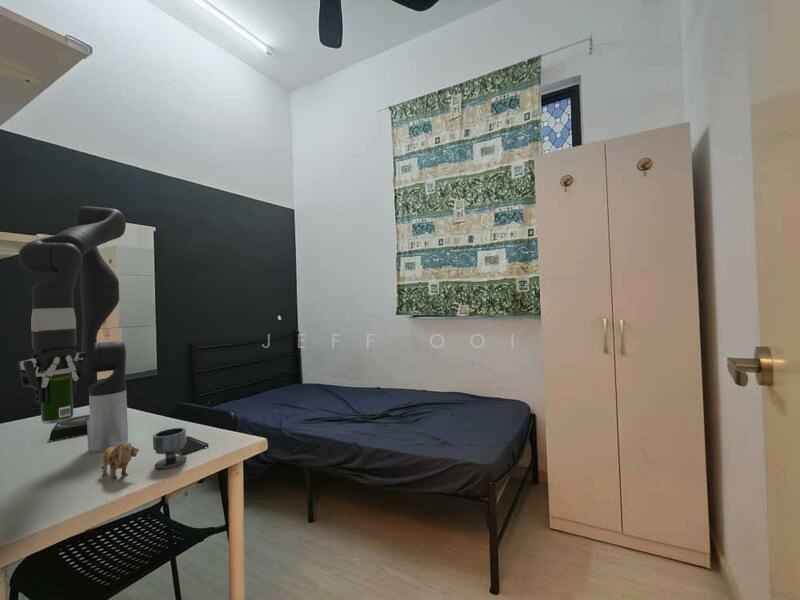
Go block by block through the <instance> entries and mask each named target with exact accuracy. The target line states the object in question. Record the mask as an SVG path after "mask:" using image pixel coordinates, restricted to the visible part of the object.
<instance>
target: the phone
mask: <svg viewBox="0 0 800 600" xmlns="http://www.w3.org/2000/svg"><path fill="white" fill-rule="evenodd" d="M205 447H207V448H209V443H208V442H205V441H202V440H200V439H196V438H194V437H191V436H189V435H188V436H187V435H186V443H185V447H184V448H182V449H181V450H178V451H176V454H177V453H178V455H179V454H180V455H179V456H186V455H185V454H187V455H189V454H188V453H190V454H192V452H193V453H195V452H194V451H197V450H199V451H201V450H200V449H202V450H204V449H206V448H205ZM203 448H204V449H203Z"/></svg>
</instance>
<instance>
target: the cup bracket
mask: <svg viewBox="0 0 800 600" xmlns="http://www.w3.org/2000/svg"><path fill="white" fill-rule="evenodd" d="M186 436H187V429H186V428H184V427H174V428H168V429H167V428H166V429H164V430H160V431H158V432H155V433H154V434H153V436H152V444H153V445H152V447H153V450H154V451H155V454H157V455H164V456H165V457H164V458H162V459H161V460H158V461H157V462H156V463H155V464H154V469H155V470H157V471H159V470H160V471H162V470H163V471H164V470H169V469H174V468H177V467H180V466H181V465H183V463H184V464H185V463H186V462H187V461H186V460H187V455H177V453H176V451H178V450H181V449H182V448H184V447H185V443H186Z"/></svg>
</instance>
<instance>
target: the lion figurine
mask: <svg viewBox="0 0 800 600" xmlns="http://www.w3.org/2000/svg"><path fill="white" fill-rule="evenodd" d="M139 451H140V449H139V448H136V447H134V446H133V445H132V444H131V442H129V441H128V442H127V443H123V444H121V445H119V446H117V447H109V448H108V449H106V450H105V451H103V452H104V453H103V457H102V462H103V466H102V467H101V469H102V473H101V477H105V476H107V475H108V466H109V472H110V475H111V479H110V482H111V483H114V482H116V480H118V476H117V473H116V472H117V469H121V473H120V475H121V477H122V476H123V478H126V477H128V476H129V473H128V472H126V471H127V467H128V464H129V463H130V462H131V461H132V458H134V457H135V458H136V457H137V454H138V453H139ZM127 475H128V476H127ZM125 476H126V477H125Z"/></svg>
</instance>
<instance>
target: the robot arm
mask: <svg viewBox="0 0 800 600" xmlns="http://www.w3.org/2000/svg"><path fill="white" fill-rule="evenodd" d="M75 220H76V221H75V222H76V226H75V225H74V226H71V227H69V228H66V229H65V230H62V231H60V232H59V233H57V234H55V235H53V236H47V237H44V238H43V237H42V238H39V239H38V238H37V239H35V240H32V241H29V242H27V243H25V244H24V245H23V246H22V248H21V249H20V251H19V253H18V261H19V264H20V265H21V266H22V267H23V268H24V269H25V270H27V271H29V272H32V273H36V274H56V275H55V277H54V278H53V279H52V280H50V281H47V282H46V281H45V282H42V283H41V282H40V283H37V284H35V285H33V286H32V288H31V305H32V306H31V308H32V310H31V318H30V322H31V324H30V325H31V327H30V328H31V349H32V350H33V356H32V358H29V359H27V360H19V361H17V362H16V367H17V369H18V370H17V371H18V374H19V378H20V382H21V384H22V387H24V388H32V389H33V391H34V393H33V394H34V401H35V404H37V405H38V406H41V405H44V404H48V403H49V396H48V387H47V385H48V382H49V379H50V378H51V377H52V376H53V374H54V370H57V369H63V368H70V370H71V371H72V389H73V398H75V397H76V395H77V392H78V380H79V379H80V378H83V377H85V376H86V374H94V373H101V372H103V373H104V372H110V371H112V373H111V374H110V375H109V376H107V377H106V378H105V379H103V380H100V381H98V382H96V383H93V384H91V385H90V386H89V387H88V399H89V400H88V401H89V405H88V406H89V415H90V419H88V420H87V432H88V434H87V450H88V451H91V452H92V453H103V452H105V450H106V449H108V448H109V447H117V446H119V445H121V444H123V443H127V442H128V443H129V429H128V428H129V426H128V405H127V404H128V402H127V400H128V399H127V381H126V380H127V379H126V378H127V377H126V373H127V372H126V364H127V349H126V345H125V343H124V342H123V341H120V340H119V341H118V340H116V341H115V340H114V341H103V342H96V338H97V336H98V333H99V331H100V329H101V328H102V326H103V325H104V323H105V321H106V320H108V318H109V317H110V316H111V314H112V313H113V311H115V309H116V307H117V306H118V305H119V302H120V281H119V279H118V276H117V275H116V273H115V271H113V270H112V268H111V267H110V266H109V265H108V263H107V262H106V260H105V259H104V258H103V257H102V255H101V254H100V251H99V248H98V247H99V246H101V245H103V244H105V243H108V242H110V241H113V240H117V239H119V238H121V237H122V236H123V235H124V234H125V232H126V227H127V225H126V224H127V223H126V218H125V216H124V214H123V212H121V211H120V210H119V209H116V208H110V207H97V206H89V205H87V206H86V205H85V206H83V205H82V206H81V207H78V209H77V210H76V217H75ZM79 273H80V303H81V315H82V316H81V317H82V318H81V319H82V320H81V321H82V330H81V331H82V333H81V352H77V351H76V349H75V347H76V346H77V344H78V343H77V318H76V313H75V302H74V301H75V300H74V291H75V286H76V283H77V280H78V275H79ZM35 368H36V369H35ZM42 371H47V372H46V373H42ZM42 377H43V378H42ZM41 378H42V380H41Z"/></svg>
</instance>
